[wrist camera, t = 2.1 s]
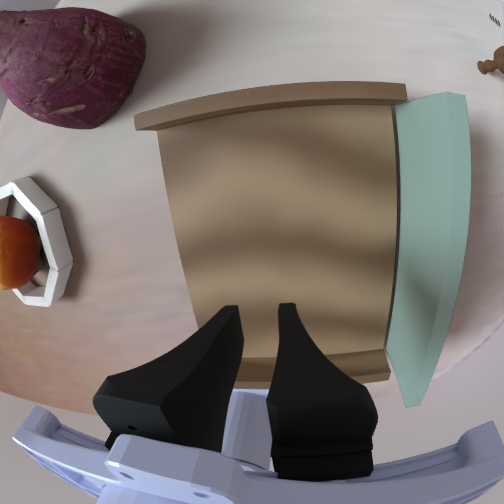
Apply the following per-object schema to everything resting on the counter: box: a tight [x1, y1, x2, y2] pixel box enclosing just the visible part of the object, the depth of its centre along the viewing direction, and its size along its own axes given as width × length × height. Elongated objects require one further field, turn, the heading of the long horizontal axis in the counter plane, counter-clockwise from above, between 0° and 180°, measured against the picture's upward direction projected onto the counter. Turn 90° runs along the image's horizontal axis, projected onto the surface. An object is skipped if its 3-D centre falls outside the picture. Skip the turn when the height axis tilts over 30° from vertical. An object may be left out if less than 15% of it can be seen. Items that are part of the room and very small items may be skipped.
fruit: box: [0, 216, 45, 290], centre depth 22 cm, size 8×8×8 cm
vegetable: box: [0, 7, 146, 129], centre depth 11 cm, size 10×10×15 cm
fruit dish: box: [0, 177, 73, 307], centre depth 23 cm, size 14×14×2 cm
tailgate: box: [386, 92, 471, 408], centre depth 15 cm, size 20×1×7 cm, turn 7°
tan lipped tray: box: [134, 81, 408, 389], centre depth 19 cm, size 22×16×4 cm
